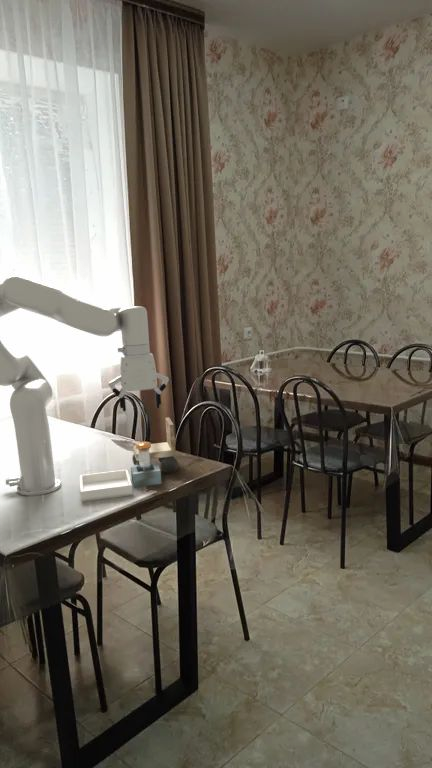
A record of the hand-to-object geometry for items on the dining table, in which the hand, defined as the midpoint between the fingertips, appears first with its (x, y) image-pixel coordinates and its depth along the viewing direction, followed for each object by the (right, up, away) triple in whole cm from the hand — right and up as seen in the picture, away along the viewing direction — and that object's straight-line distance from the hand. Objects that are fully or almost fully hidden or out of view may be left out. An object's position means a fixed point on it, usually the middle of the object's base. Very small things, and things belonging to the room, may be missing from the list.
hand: (140, 408), depth 183 cm
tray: (-10, -23, -1) cm, 25 cm away
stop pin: (+1, -22, +4) cm, 22 cm away
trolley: (+3, -20, +10) cm, 23 cm away
